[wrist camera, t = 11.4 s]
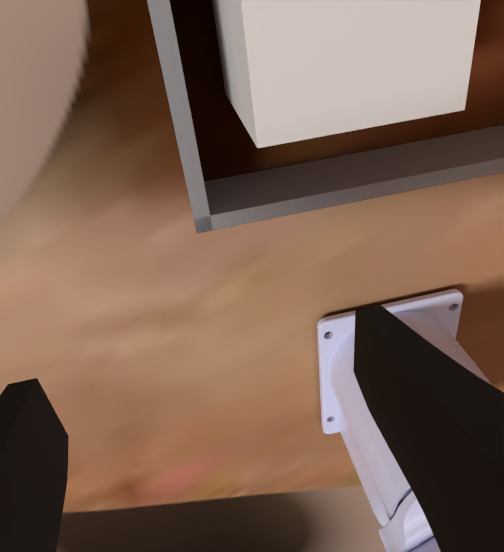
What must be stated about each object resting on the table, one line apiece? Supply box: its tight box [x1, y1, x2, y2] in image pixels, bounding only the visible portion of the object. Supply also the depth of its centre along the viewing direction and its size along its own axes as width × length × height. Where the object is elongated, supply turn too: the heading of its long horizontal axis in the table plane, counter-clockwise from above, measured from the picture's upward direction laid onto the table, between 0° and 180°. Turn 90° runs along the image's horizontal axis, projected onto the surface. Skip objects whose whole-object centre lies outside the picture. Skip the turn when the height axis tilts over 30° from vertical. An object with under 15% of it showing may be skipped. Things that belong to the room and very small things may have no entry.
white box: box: [212, 0, 481, 148], centre depth 14 cm, size 4×6×6 cm
